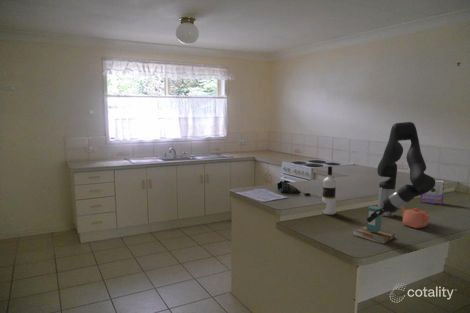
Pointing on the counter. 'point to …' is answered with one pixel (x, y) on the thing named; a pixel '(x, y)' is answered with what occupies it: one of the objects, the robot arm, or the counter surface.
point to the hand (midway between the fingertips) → (370, 219)
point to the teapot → (415, 218)
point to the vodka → (329, 193)
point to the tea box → (376, 223)
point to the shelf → (374, 235)
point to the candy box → (434, 194)
